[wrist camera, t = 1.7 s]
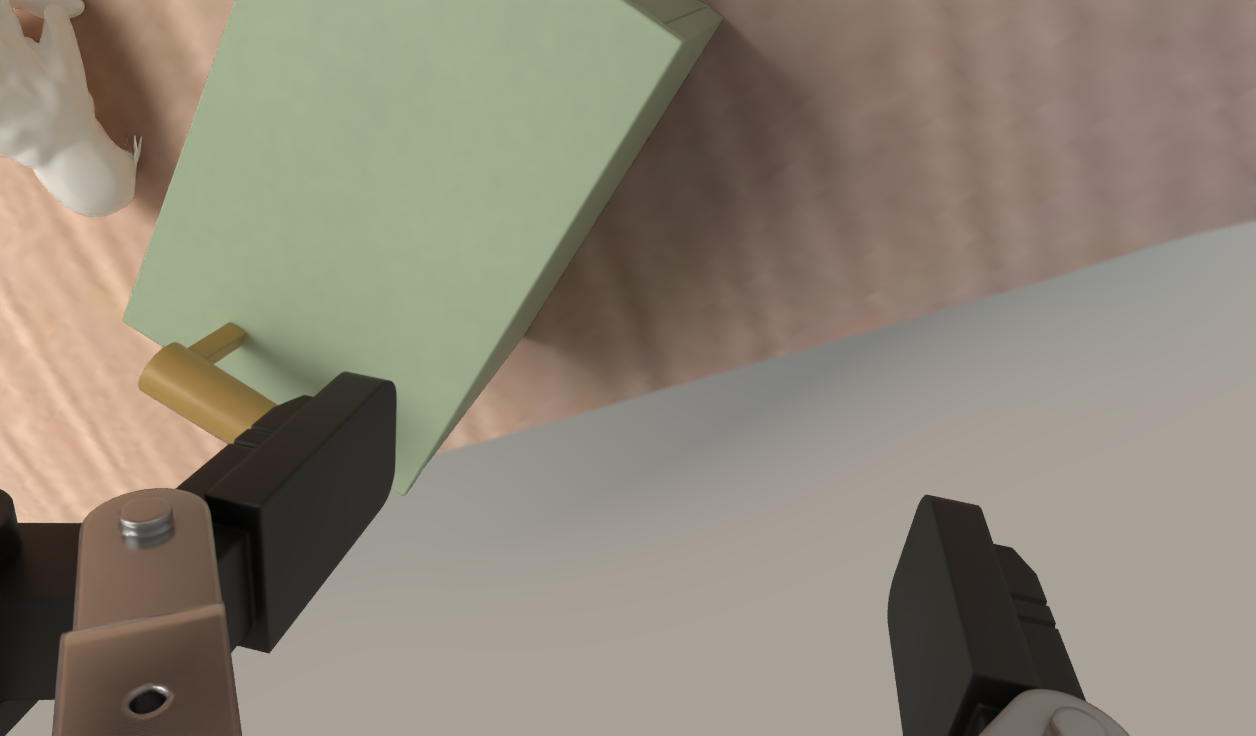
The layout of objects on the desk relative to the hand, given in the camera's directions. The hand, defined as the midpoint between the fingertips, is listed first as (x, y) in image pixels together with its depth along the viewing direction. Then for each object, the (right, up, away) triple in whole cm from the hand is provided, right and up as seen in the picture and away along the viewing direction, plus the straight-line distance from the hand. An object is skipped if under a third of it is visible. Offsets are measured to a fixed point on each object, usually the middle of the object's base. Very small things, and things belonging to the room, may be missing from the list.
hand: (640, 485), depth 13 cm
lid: (-8, +7, +14) cm, 18 cm away
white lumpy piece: (-27, +15, +29) cm, 42 cm away
